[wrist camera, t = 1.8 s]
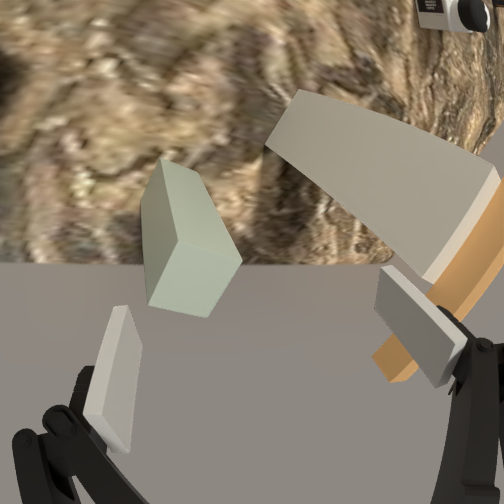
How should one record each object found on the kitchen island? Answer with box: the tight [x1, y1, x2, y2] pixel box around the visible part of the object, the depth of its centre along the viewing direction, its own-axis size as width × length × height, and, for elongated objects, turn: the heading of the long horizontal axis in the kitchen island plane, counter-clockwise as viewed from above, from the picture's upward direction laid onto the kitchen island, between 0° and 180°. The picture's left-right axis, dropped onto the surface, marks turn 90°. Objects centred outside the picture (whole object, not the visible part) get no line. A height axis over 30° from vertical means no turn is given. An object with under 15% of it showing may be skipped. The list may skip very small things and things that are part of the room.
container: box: [415, 0, 490, 33], centre depth 32 cm, size 8×8×13 cm
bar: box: [372, 177, 504, 383], centre depth 20 cm, size 3×21×3 cm, turn 148°
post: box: [265, 89, 501, 284], centre depth 33 cm, size 8×10×32 cm
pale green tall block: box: [141, 157, 243, 318], centre depth 35 cm, size 6×7×22 cm
